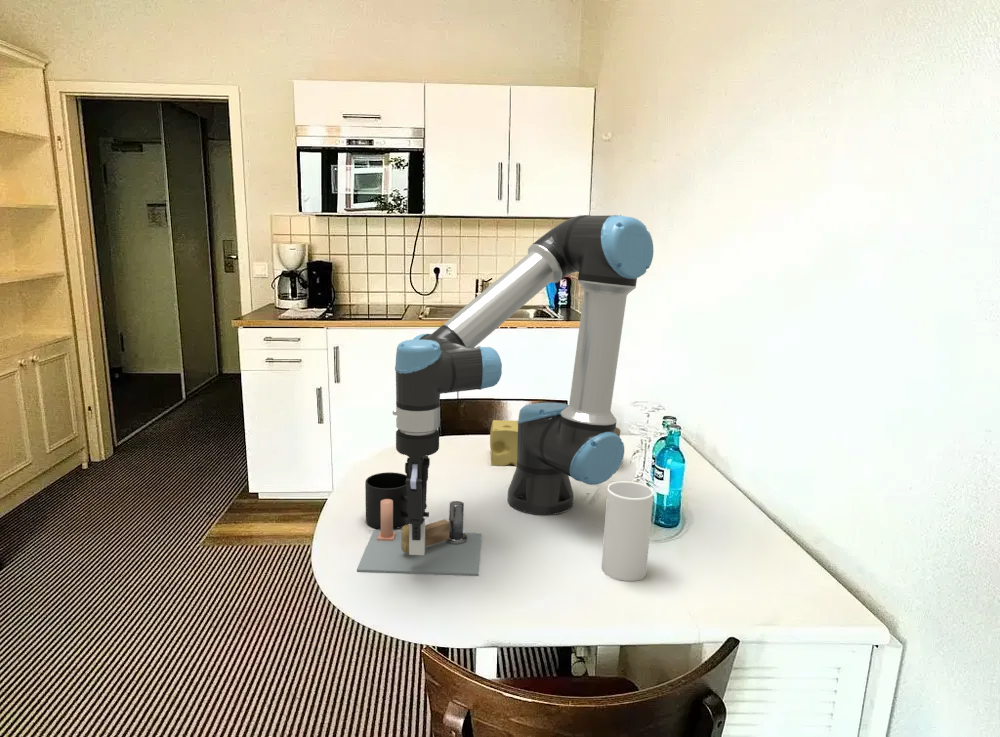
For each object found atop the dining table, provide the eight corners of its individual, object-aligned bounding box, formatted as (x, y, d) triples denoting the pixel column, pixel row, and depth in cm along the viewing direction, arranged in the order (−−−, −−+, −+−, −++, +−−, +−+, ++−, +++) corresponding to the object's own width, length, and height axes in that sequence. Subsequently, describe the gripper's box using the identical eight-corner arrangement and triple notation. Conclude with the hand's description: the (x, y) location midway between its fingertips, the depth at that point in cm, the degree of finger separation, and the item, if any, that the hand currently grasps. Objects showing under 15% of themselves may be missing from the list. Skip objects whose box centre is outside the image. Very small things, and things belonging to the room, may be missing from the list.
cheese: (529, 467, 175) (531, 431, 173) (488, 466, 175) (489, 429, 173) (528, 454, 185) (529, 419, 183) (489, 452, 185) (490, 418, 183)
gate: (443, 535, 132) (443, 514, 131) (450, 539, 130) (450, 518, 129) (399, 548, 126) (399, 526, 125) (406, 553, 124) (406, 531, 123)
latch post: (396, 535, 134) (396, 498, 133) (393, 542, 131) (393, 505, 130) (380, 534, 134) (380, 497, 133) (377, 542, 131) (377, 504, 130)
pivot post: (467, 536, 135) (468, 499, 133) (466, 546, 131) (467, 508, 129) (445, 535, 135) (446, 498, 133) (443, 546, 131) (444, 508, 129)
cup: (636, 586, 119) (644, 502, 115) (594, 572, 123) (600, 491, 119) (652, 567, 125) (659, 487, 122) (611, 554, 130) (617, 477, 126)
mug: (395, 538, 133) (395, 496, 131) (356, 520, 140) (355, 480, 138) (428, 523, 140) (429, 483, 138) (390, 507, 148) (390, 468, 146)
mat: (481, 535, 136) (481, 533, 136) (478, 575, 120) (478, 573, 120) (373, 531, 136) (373, 529, 136) (356, 571, 120) (356, 569, 120)
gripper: (401, 417, 122) (401, 535, 127) (390, 440, 109) (390, 570, 115) (442, 418, 122) (440, 537, 127) (435, 441, 110) (434, 572, 115)
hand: (417, 552), depth 121 cm, fingers closed
